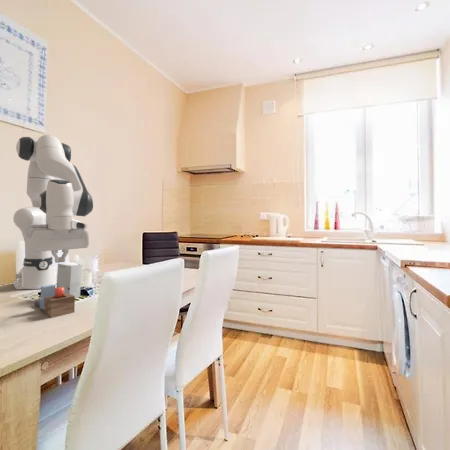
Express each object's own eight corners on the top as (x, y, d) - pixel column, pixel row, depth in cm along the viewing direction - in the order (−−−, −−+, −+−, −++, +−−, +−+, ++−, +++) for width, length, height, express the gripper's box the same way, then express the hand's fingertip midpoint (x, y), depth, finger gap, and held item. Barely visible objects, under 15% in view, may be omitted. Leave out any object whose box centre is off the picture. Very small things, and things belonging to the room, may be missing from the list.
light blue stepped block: (39, 308, 110) (39, 285, 110) (50, 305, 114) (51, 283, 113) (45, 311, 107) (45, 287, 107) (56, 308, 110) (56, 286, 110)
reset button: (53, 296, 107) (53, 288, 107) (62, 294, 110) (62, 286, 110) (57, 297, 106) (57, 289, 106) (65, 296, 108) (65, 288, 108)
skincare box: (55, 297, 127) (55, 263, 126) (67, 294, 132) (68, 261, 132) (70, 300, 124) (70, 265, 123) (81, 296, 129) (82, 263, 129)
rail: (34, 305, 116) (34, 300, 116) (40, 304, 117) (40, 299, 117) (48, 312, 108) (48, 307, 108) (54, 311, 109) (54, 306, 109)
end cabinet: (44, 313, 107) (44, 297, 106) (67, 308, 113) (67, 293, 113) (51, 317, 103) (51, 300, 103) (74, 312, 109) (74, 296, 109)
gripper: (31, 225, 97) (31, 266, 97) (91, 224, 113) (91, 260, 113) (23, 224, 100) (23, 264, 101) (83, 223, 117) (83, 258, 117)
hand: (60, 262), depth 107 cm, fingers closed
